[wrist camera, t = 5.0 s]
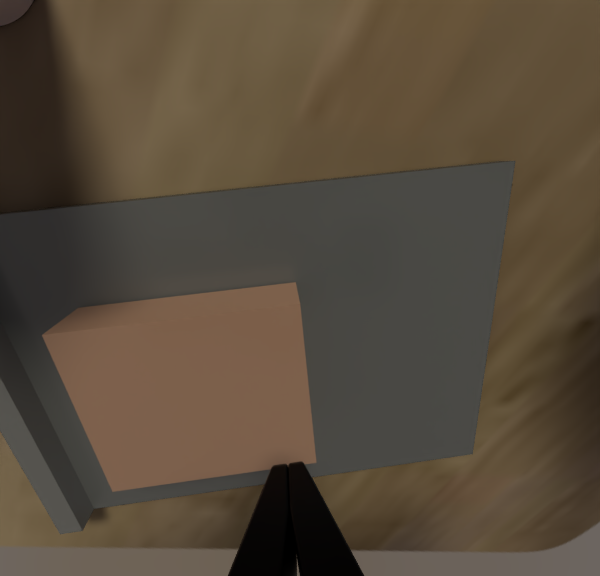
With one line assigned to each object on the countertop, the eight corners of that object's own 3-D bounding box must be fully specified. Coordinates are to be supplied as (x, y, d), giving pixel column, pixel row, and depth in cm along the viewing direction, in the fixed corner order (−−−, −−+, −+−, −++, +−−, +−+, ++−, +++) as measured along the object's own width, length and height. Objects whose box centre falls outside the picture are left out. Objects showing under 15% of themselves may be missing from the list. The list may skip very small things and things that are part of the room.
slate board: (499, 161, 12) (537, 161, 10) (463, 441, 17) (484, 471, 15) (-59, 219, 11) (-117, 229, 9) (81, 495, 16) (60, 534, 15)
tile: (300, 303, 10) (41, 335, 10) (316, 462, 13) (112, 491, 12) (295, 281, 12) (79, 306, 12) (310, 422, 15) (134, 447, 14)
